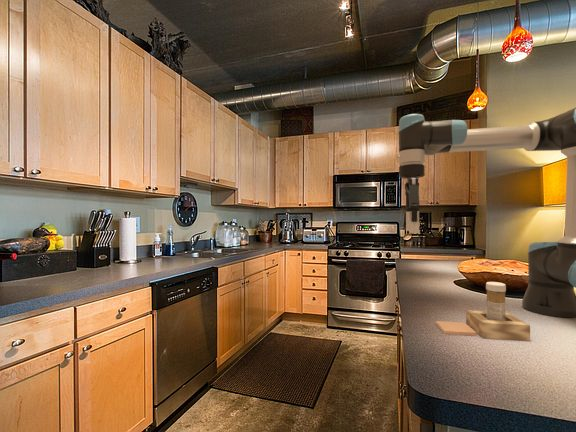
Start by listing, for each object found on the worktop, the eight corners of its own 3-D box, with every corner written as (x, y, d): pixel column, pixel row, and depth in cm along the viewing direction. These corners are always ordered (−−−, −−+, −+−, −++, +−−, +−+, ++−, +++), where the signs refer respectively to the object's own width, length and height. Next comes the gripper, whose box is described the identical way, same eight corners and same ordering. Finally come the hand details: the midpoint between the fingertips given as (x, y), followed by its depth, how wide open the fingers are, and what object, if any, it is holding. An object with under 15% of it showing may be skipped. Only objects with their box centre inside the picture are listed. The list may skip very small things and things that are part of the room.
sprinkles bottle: (493, 327, 88) (493, 280, 88) (510, 333, 84) (509, 284, 84) (482, 329, 86) (482, 282, 86) (498, 335, 82) (498, 285, 82)
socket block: (507, 325, 89) (507, 312, 89) (530, 340, 79) (530, 325, 79) (466, 323, 91) (466, 310, 91) (483, 338, 80) (483, 322, 80)
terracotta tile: (464, 325, 90) (464, 322, 90) (476, 335, 82) (476, 332, 82) (435, 323, 91) (435, 321, 91) (444, 333, 83) (444, 331, 83)
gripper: (397, 171, 111) (397, 230, 111) (401, 158, 87) (401, 234, 87) (420, 169, 108) (420, 230, 108) (430, 157, 84) (430, 234, 84)
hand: (412, 232), depth 98 cm, fingers open, 13 cm apart
